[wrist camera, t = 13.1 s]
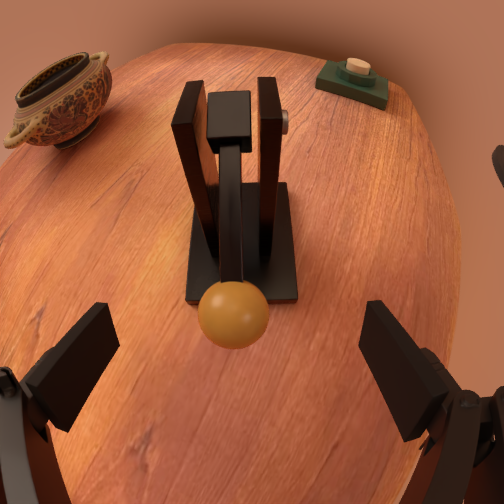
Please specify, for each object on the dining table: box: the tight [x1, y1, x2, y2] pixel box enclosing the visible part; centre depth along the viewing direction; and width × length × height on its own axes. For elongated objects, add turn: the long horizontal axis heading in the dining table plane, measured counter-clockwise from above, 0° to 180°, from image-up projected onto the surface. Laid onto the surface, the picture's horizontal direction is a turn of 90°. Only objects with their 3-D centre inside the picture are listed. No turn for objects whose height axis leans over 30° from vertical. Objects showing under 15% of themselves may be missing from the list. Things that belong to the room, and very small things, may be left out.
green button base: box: [315, 60, 388, 110], centre depth 37 cm, size 12×10×4 cm
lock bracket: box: [171, 77, 298, 305], centre depth 18 cm, size 12×9×15 cm
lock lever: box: [198, 90, 269, 349], centre depth 13 cm, size 13×4×4 cm, turn 1°
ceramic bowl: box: [4, 52, 112, 149], centre depth 29 cm, size 24×18×15 cm
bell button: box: [346, 58, 370, 75], centre depth 35 cm, size 4×4×2 cm
